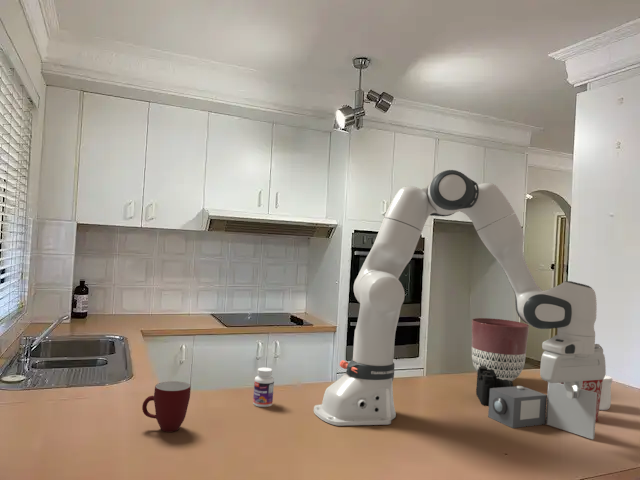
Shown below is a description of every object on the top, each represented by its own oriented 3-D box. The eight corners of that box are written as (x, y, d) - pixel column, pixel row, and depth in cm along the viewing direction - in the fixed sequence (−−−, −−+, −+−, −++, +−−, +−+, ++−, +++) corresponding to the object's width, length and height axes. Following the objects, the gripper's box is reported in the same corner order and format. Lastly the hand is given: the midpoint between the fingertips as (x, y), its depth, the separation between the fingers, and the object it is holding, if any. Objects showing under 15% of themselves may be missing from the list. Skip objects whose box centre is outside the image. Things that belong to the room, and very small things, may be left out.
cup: (603, 412, 154) (605, 380, 154) (569, 403, 162) (571, 372, 162) (615, 407, 161) (617, 376, 161) (582, 399, 168) (583, 369, 168)
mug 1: (138, 436, 114) (141, 391, 114) (142, 423, 121) (145, 381, 121) (187, 434, 116) (190, 390, 116) (187, 422, 124) (190, 381, 124)
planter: (471, 385, 176) (475, 323, 176) (465, 372, 195) (468, 316, 195) (531, 392, 173) (535, 328, 173) (518, 378, 192) (522, 321, 192)
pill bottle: (249, 405, 140) (251, 369, 140) (258, 400, 145) (261, 365, 145) (266, 408, 138) (269, 372, 138) (275, 403, 143) (278, 368, 143)
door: (595, 438, 130) (598, 392, 130) (592, 439, 129) (595, 393, 129) (547, 422, 140) (549, 380, 141) (544, 423, 140) (546, 380, 140)
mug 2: (608, 421, 146) (611, 374, 146) (586, 424, 142) (589, 375, 142) (571, 407, 157) (573, 363, 158) (549, 409, 154) (552, 364, 154)
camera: (515, 409, 152) (517, 376, 152) (478, 405, 154) (480, 372, 154) (507, 396, 165) (509, 365, 166) (473, 392, 168) (475, 362, 168)
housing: (509, 428, 134) (511, 395, 135) (485, 417, 143) (487, 386, 143) (545, 424, 140) (547, 392, 140) (519, 413, 148) (521, 383, 148)
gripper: (592, 341, 140) (589, 392, 140) (537, 342, 131) (534, 396, 131) (613, 346, 134) (610, 398, 134) (557, 347, 126) (554, 404, 125)
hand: (572, 397), depth 132 cm, fingers closed
